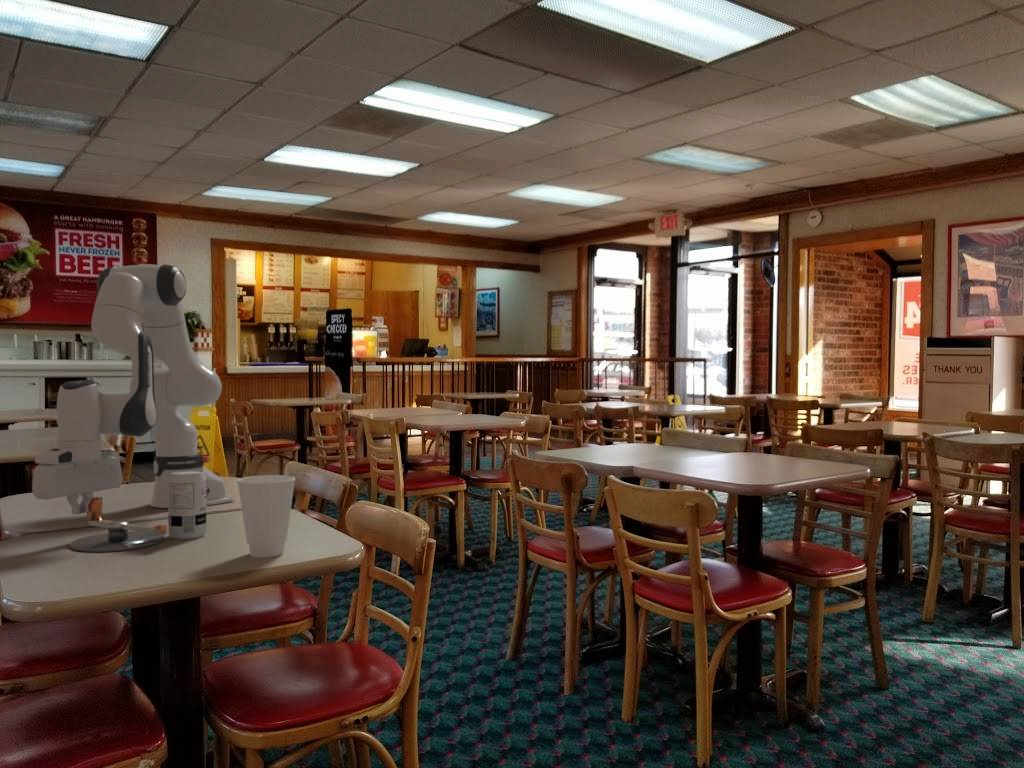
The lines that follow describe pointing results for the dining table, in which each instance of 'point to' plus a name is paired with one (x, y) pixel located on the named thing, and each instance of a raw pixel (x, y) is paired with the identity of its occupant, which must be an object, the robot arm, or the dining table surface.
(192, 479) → the supplement can
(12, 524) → the dining table surface
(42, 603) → the dining table surface
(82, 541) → the dial plate
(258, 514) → the cup
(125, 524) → the crank
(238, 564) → the dining table surface
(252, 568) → the dining table surface
